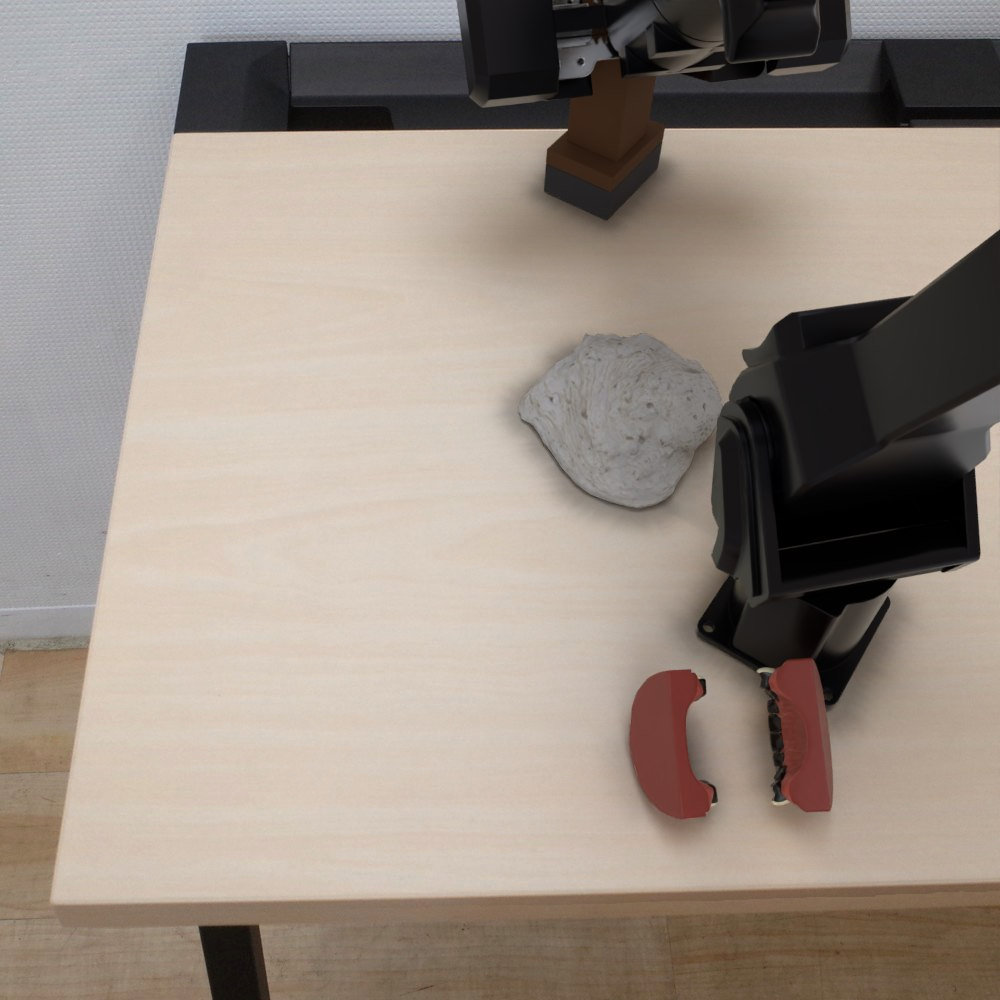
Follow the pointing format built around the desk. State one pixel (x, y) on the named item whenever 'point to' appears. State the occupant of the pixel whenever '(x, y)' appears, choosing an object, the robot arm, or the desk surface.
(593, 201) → the stamp
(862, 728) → the desk surface
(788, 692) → the false teeth
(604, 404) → the stone
